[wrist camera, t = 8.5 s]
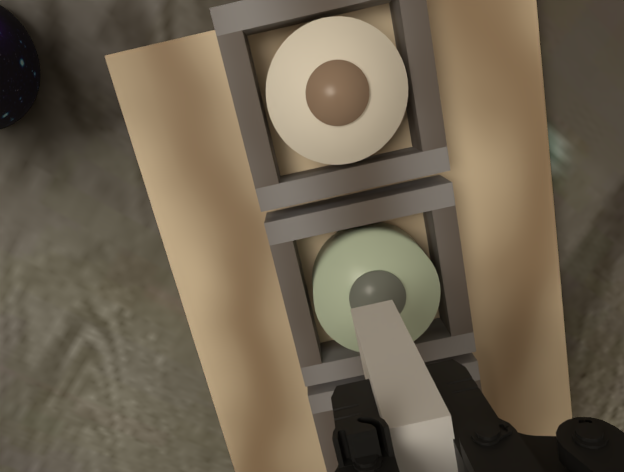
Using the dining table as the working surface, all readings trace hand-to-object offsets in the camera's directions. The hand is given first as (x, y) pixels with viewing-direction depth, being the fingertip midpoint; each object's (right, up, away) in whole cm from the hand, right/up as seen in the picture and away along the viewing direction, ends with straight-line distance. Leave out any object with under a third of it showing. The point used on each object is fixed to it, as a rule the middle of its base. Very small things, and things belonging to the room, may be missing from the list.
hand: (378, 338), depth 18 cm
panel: (0, +2, +8) cm, 9 cm away
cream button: (-1, +10, +4) cm, 11 cm away
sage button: (0, +2, +6) cm, 7 cm away
